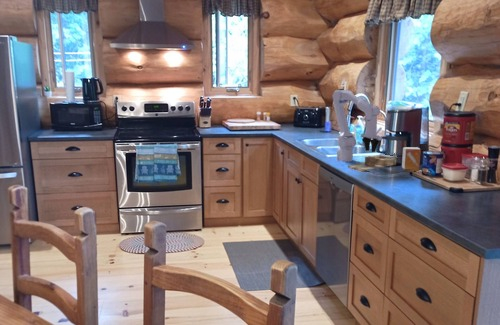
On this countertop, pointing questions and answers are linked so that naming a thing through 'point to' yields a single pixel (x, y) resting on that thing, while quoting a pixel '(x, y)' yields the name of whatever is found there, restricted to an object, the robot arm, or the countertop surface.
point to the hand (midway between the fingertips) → (370, 151)
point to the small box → (411, 159)
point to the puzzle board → (378, 163)
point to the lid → (388, 156)
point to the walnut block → (369, 161)
